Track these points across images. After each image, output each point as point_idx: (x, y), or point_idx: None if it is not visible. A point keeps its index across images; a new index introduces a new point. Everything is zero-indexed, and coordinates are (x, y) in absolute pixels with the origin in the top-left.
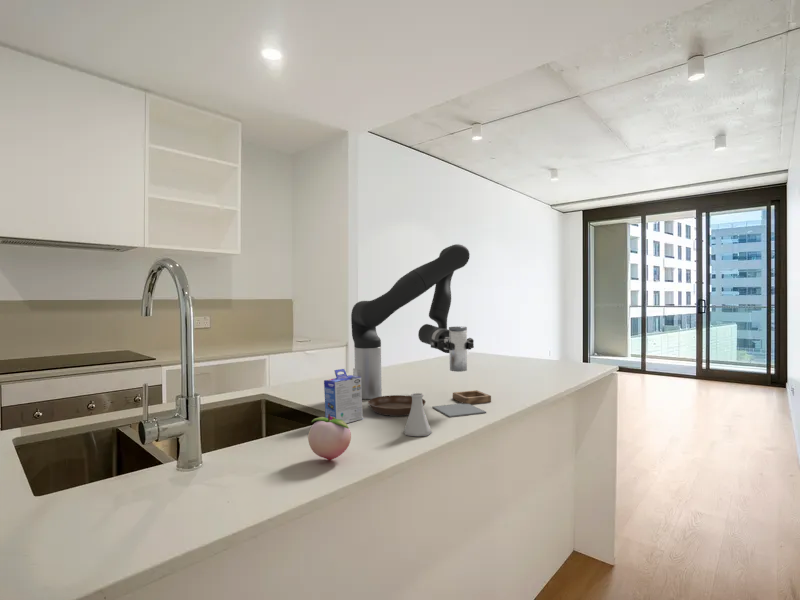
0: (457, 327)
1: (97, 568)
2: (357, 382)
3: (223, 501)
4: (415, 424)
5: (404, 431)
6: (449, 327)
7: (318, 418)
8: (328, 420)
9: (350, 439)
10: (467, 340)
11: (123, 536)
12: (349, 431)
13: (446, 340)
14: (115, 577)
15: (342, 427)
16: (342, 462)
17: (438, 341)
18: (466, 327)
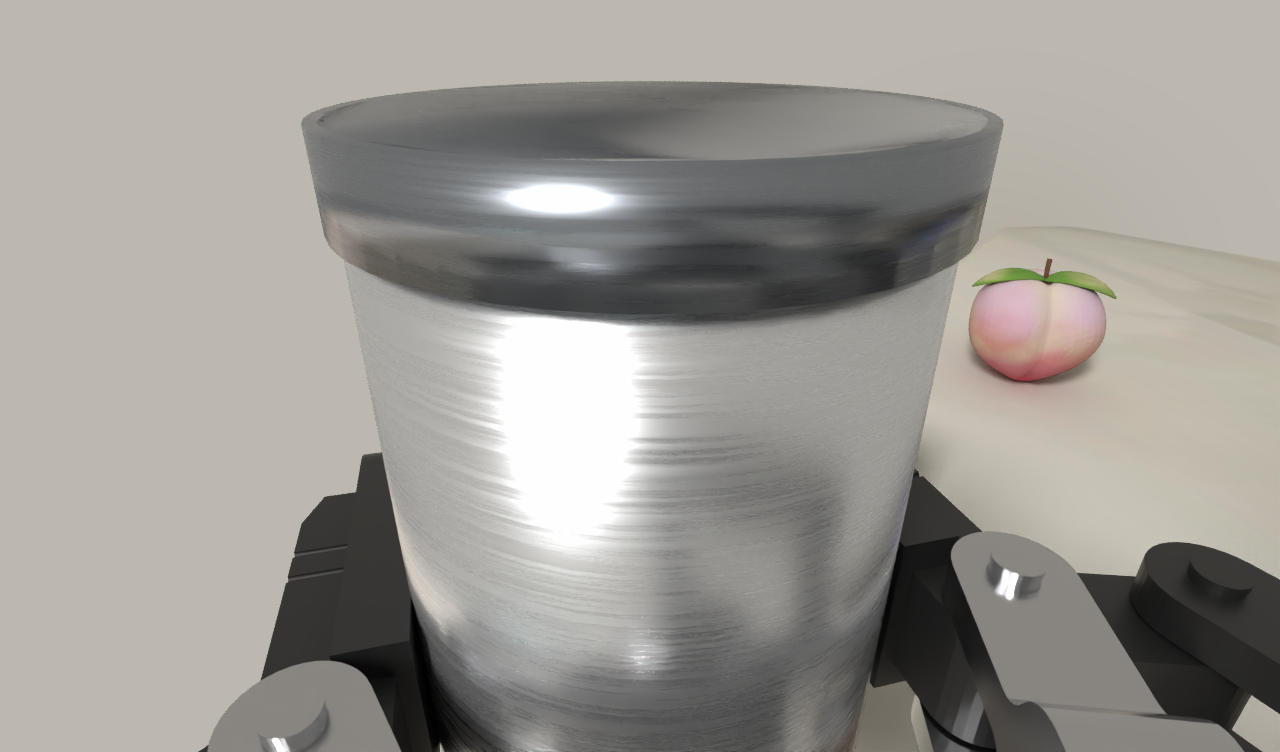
0: (663, 98)
1: (1037, 237)
2: None
3: None
4: None
5: None
6: (929, 99)
7: (1080, 273)
8: (1046, 275)
9: (971, 328)
10: (283, 695)
11: (1087, 255)
12: (979, 307)
13: (1075, 703)
14: (1002, 233)
15: (989, 283)
16: (973, 375)
17: (1209, 551)
18: (383, 97)
